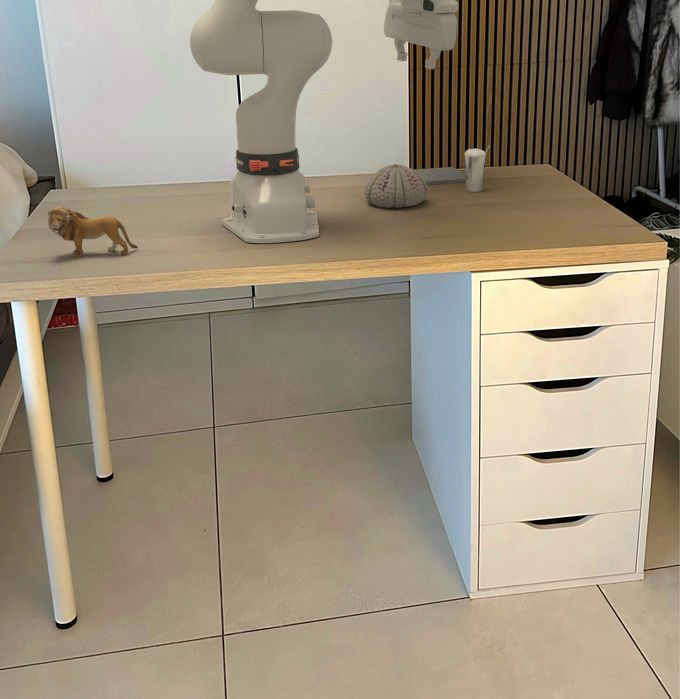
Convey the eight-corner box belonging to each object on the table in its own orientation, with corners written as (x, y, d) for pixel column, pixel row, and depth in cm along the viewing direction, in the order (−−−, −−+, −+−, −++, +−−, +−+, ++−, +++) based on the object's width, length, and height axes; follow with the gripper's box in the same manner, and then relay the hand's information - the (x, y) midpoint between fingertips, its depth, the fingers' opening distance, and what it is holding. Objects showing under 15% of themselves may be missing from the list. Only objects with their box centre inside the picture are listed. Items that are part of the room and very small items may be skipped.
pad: (471, 181, 209) (471, 178, 209) (417, 185, 206) (418, 182, 206) (451, 170, 221) (451, 166, 220) (400, 173, 218) (400, 170, 218)
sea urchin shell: (438, 207, 188) (439, 168, 185) (377, 214, 184) (377, 174, 181) (412, 193, 200) (412, 156, 197) (354, 199, 196) (354, 162, 193)
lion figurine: (52, 262, 158) (45, 211, 154) (53, 253, 163) (46, 204, 159) (139, 254, 161) (133, 204, 158) (137, 246, 166) (132, 197, 162)
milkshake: (489, 192, 199) (491, 146, 195) (464, 193, 199) (466, 146, 195) (486, 188, 203) (488, 142, 199) (462, 188, 203) (463, 143, 199)
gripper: (379, -7, 203) (375, 57, 210) (442, 6, 189) (435, 74, 196) (400, -8, 207) (396, 55, 213) (464, 4, 193) (457, 71, 199)
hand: (415, 64), depth 204 cm, fingers open, 8 cm apart
